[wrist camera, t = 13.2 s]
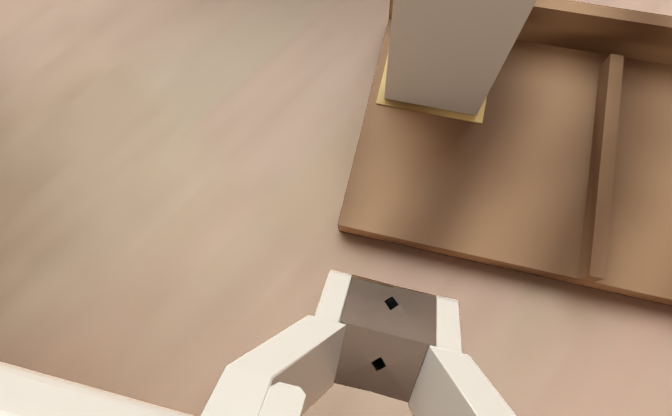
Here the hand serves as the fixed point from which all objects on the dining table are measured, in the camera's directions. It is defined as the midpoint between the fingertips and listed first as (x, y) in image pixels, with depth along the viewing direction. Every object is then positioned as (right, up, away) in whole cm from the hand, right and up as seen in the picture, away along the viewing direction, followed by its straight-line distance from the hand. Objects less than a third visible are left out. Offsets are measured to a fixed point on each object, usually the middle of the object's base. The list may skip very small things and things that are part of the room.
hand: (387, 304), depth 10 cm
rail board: (+11, +4, +11) cm, 16 cm away
